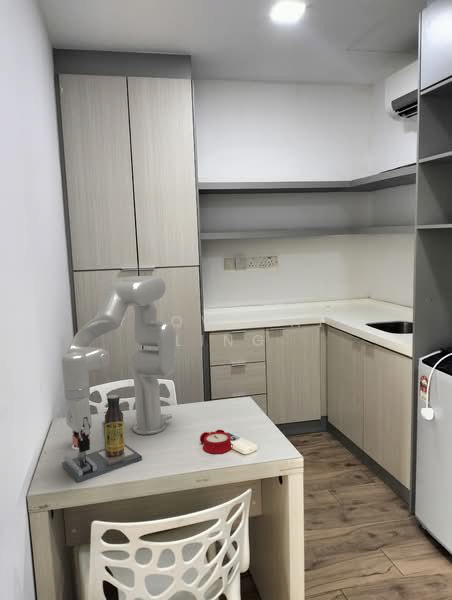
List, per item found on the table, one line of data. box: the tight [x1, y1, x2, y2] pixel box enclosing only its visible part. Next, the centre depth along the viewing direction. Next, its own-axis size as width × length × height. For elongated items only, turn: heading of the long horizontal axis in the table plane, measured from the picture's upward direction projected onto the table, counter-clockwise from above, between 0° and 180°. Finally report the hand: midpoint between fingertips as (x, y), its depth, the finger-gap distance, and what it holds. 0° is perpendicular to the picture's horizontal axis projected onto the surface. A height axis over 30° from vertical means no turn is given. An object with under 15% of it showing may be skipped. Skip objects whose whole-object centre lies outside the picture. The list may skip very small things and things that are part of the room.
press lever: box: [71, 431, 91, 473], centre depth 148 cm, size 4×5×11 cm
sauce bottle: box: [104, 394, 125, 456], centre depth 158 cm, size 7×6×20 cm
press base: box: [61, 420, 143, 484], centre depth 155 cm, size 22×14×12 cm, turn 128°
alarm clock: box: [199, 429, 234, 455], centre depth 166 cm, size 10×6×15 cm
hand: (81, 447), depth 148 cm, fingers closed on press lever, 4 cm apart
